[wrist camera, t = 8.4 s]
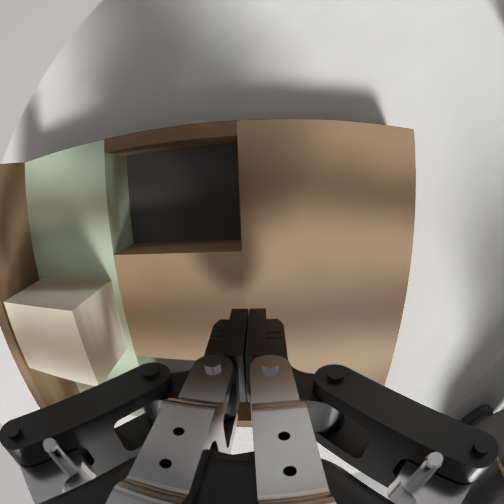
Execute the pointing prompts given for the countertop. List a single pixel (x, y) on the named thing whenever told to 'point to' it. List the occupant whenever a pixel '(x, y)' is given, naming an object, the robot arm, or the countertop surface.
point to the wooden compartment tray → (222, 238)
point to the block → (68, 328)
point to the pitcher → (500, 472)
